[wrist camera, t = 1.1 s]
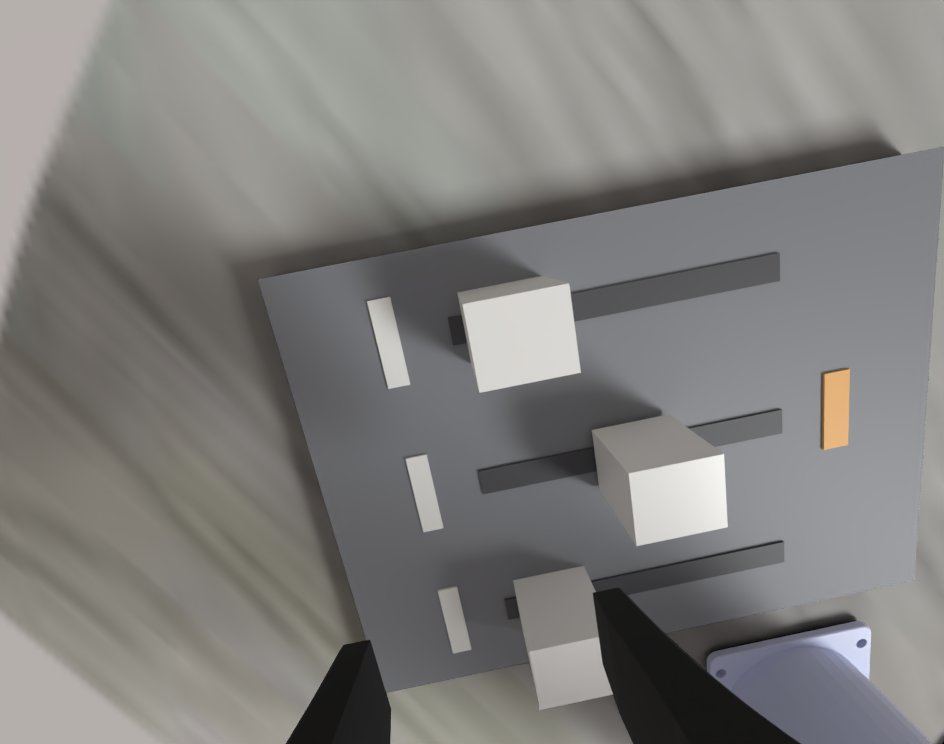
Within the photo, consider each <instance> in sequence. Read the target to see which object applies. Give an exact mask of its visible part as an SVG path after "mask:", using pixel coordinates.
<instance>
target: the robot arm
mask: <svg viewBox="0 0 944 744" xmlns="http://www.w3.org/2000/svg"><path fill="white" fill-rule="evenodd" d="M593 600H594V607H595V614H596V621H597V628H598V635H599V642H600V649H601V656H602V663H603V666H604V669H605V672H606V675H607V678H608V681H609V684H610V687H611V690H612V693H613V696H614V699H615V701H616V704H617V707H618V710H619V713H620V715H621V717H622V720H623V722H624V724H625V726H626V729H627V731H628V733H629V735H630V737H631V740H632V742H633V744H932V743H931V742H930V741H929V740H928V739H927V738H926V737H925V736H924V735H923V734H922V733H921V732H920V731H919V730H918V729H917V728H916V727H915V726H914V725H913V724H912V723H911V722H910V721H909V720H908V719H907V718H906V717H905V716H904V715H903V713H902V712H901V711H900V710H899V709H898V708H897V707H896V706H895V705H894V704H893V703H892V702H891V701H890V700H889V699H888V698H887V697H886V696H885V695H884V694H883V693H882V692H881V691H880V690H879V689H878V688H877V687H876V686H875V685H874V684H873V683H872V682H871V681H870V680H869V668H870V645H871V630H870V628H869V627H868V626H867V625H866V624H864V623H863V622H861V621H854V622H849V623H845V624H840V625H835V626H831V627H826V628H821V629H817V630H812V631H807V632H803V633H798V634H793V635H789V636H784V637H779V638H774V639H770V640H765V641H760V642H756V643H751V644H746V645H742V646H737V647H732V648H728V649H723V650H718V651H714V652H712V653H711V654H709V656H708V657H707V671H706V670H705V669H704V668H703V667H701V666H700V665H699V664H698V663H697V662H696V661H695V660H694V659H692V658H691V657H690V656H689V655H688V654H687V653H686V652H685V651H684V650H683V649H681V648H680V647H679V646H678V645H677V644H676V643H675V642H674V641H673V640H672V639H671V638H669V637H668V636H667V635H666V634H665V633H664V632H663V631H662V630H661V629H660V628H659V627H658V626H657V625H656V624H655V623H654V622H653V621H652V620H651V619H650V618H649V617H648V616H647V615H646V614H645V613H644V612H643V611H642V610H641V609H640V608H639V607H638V606H637V605H636V604H635V602H634V601H633V600H632V599H631V598H630V597H629V596H628V595H627V594H626V593H625V592H624V591H623V590H622V589H620V588H619V587H618V588H613V589H609V590H604V591H599V592H594V593H593ZM390 730H391V707H390V704H389V701H388V697H387V694H386V691H385V687H384V684H383V681H382V677H381V674H380V671H379V667H378V664H377V661H376V657H375V654H374V650H373V647H372V644H371V640H365V641H361V642H356V643H351V644H346V645H343V647H342V648H341V650H340V651H339V653H338V655H337V657H336V658H335V660H334V662H333V664H332V665H331V667H330V669H329V671H328V673H327V674H326V676H325V678H324V680H323V682H322V683H321V685H320V687H319V689H318V690H317V692H316V694H315V696H314V697H313V699H312V701H311V703H310V704H309V706H308V708H307V709H306V711H305V713H304V714H303V716H302V718H301V719H300V721H299V723H298V724H297V726H296V728H295V729H294V731H293V733H292V734H291V736H290V738H289V739H288V741H287V743H286V744H390Z"/></svg>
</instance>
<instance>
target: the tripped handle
mask: <svg viewBox="0 0 944 744" xmlns="http://www.w3.org/2000/svg"><path fill="white" fill-rule="evenodd" d="M592 436H593V444H594V452H595V459H596V467H597V475H598V483H599V490H600V492H601V494H602V495H603V497H604V498H605V500H606V501H607V503H608V504H609V506H610V507H611V509H612V510H613V512H614V513H615V515H616V516H617V518H618V519H619V521H620V522H621V524H622V525H623V527H624V528H625V530H626V531H627V533H628V534H629V536H630V537H631V539H632V540H633V542H634V543H635V545H636V546H640V545H645V544H650V543H655V542H659V541H664V540H669V539H674V538H679V537H683V536H688V535H693V534H698V533H703V532H708V531H712V530H717V529H722V528H727V527H728V522H727V502H726V482H725V463H724V454H723V453H722V452H721V451H719V450H718V449H716V448H715V447H714V446H712V445H711V444H709V443H708V442H707V441H705V440H704V439H702V438H701V437H700V436H698V435H697V434H696V433H694V432H693V431H691V430H690V429H689V428H687V427H686V426H684V425H683V424H682V423H680V422H679V421H677V420H676V419H675V418H673V417H672V416H670V415H669V414H668V415H663V416H658V417H653V418H648V419H643V420H639V421H634V422H629V423H624V424H619V425H614V426H609V427H604V428H599V429H594V430H592Z"/></svg>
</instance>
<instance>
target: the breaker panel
mask: <svg viewBox="0 0 944 744" xmlns="http://www.w3.org/2000/svg"><path fill="white" fill-rule="evenodd" d="M943 162H944V147H939V148H934V149H929V150H924V151H919V152H914V153H908V154H903V155H898V156H893V157H888V158H883V159H877V160H872V161H867V162H862V163H857V164H852V165H846V166H841V167H836V168H831V169H826V170H821V171H815V172H810V173H805V174H800V175H795V176H790V177H784V178H779V179H774V180H769V181H764V182H759V183H753V184H748V185H743V186H738V187H733V188H728V189H722V190H717V191H712V192H707V193H702V194H697V195H691V196H686V197H681V198H676V199H671V200H665V201H660V202H655V203H650V204H645V205H640V206H634V207H629V208H624V209H619V210H614V211H609V212H603V213H598V214H593V215H588V216H583V217H578V218H572V219H567V220H562V221H557V222H552V223H547V224H541V225H536V226H531V227H526V228H521V229H516V230H510V231H505V232H500V233H495V234H490V235H485V236H479V237H474V238H469V239H464V240H459V241H454V242H448V243H443V244H438V245H433V246H428V247H423V248H417V249H412V250H407V251H402V252H397V253H392V254H386V255H381V256H376V257H371V258H366V259H361V260H355V261H350V262H345V263H340V264H335V265H330V266H324V267H319V268H314V269H309V270H304V271H299V272H293V273H288V274H283V275H278V276H273V277H268V278H262V279H258V283H259V286H260V289H261V293H262V296H263V299H264V302H265V306H266V309H267V312H268V316H269V319H270V322H271V326H272V329H273V332H274V336H275V339H276V342H277V346H278V349H279V352H280V356H281V359H282V362H283V366H284V369H285V372H286V376H287V379H288V382H289V385H290V389H291V392H292V395H293V399H294V402H295V405H296V409H297V412H298V415H299V419H300V422H301V425H302V429H303V432H304V435H305V439H306V442H307V445H308V449H309V452H310V455H311V459H312V462H313V465H314V468H315V472H316V475H317V478H318V482H319V485H320V488H321V492H322V495H323V498H324V502H325V505H326V508H327V512H328V515H329V518H330V522H331V525H332V528H333V532H334V535H335V538H336V542H337V545H338V548H339V551H340V555H341V558H342V561H343V565H344V568H345V571H346V575H347V578H348V581H349V585H350V588H351V591H352V595H353V598H354V601H355V605H356V608H357V611H358V615H359V618H360V621H361V625H362V628H363V631H364V634H365V638H366V640H371V644H372V647H373V650H374V654H375V657H376V661H377V664H378V667H379V671H380V674H381V677H382V681H383V684H384V687H385V691H386V693H387V692H392V691H397V690H402V689H406V688H411V687H416V686H420V685H425V684H430V683H435V682H439V681H444V680H449V679H453V678H458V677H463V676H468V675H472V674H477V673H482V672H486V671H491V670H496V669H501V668H505V667H510V666H515V665H519V664H524V663H529V662H530V666H531V671H532V675H533V680H534V684H535V689H536V693H537V698H538V702H539V707H540V710H543V709H548V708H552V707H557V706H562V705H566V704H571V703H576V702H580V701H585V700H590V699H594V698H599V697H604V696H608V695H613V693H612V690H611V687H610V684H609V681H608V678H607V675H606V672H605V669H604V666H603V663H602V656H601V649H600V642H599V635H598V628H597V621H596V614H595V607H594V600H593V593H594V592H599V591H604V590H609V589H613V588H618V587H619V588H620V589H622V590H623V591H624V592H625V593H626V594H627V595H628V596H629V597H630V598H631V599H632V600H633V601H634V602H635V604H636V605H637V606H638V607H639V608H640V609H641V610H642V611H643V612H644V613H645V614H646V615H647V616H648V617H649V618H650V619H651V620H652V621H653V622H654V623H655V624H656V625H657V626H658V627H659V628H660V629H661V630H662V631H663V632H664V633H665V634H666V633H670V632H675V631H680V630H684V629H689V628H694V627H699V626H703V625H708V624H713V623H717V622H722V621H727V620H732V619H736V618H741V617H746V616H750V615H755V614H760V613H765V612H769V611H774V610H779V609H784V608H788V607H793V606H798V605H802V604H807V603H812V602H817V601H821V600H826V599H831V598H835V597H840V596H845V595H850V594H854V593H859V592H864V591H868V590H873V589H878V588H883V587H887V586H892V585H897V584H901V583H906V582H911V581H914V578H915V564H916V549H917V535H918V521H919V506H920V492H921V478H922V463H923V449H924V435H925V420H926V406H927V392H928V377H929V363H930V349H931V334H932V320H933V306H934V291H935V277H936V263H937V248H938V234H939V220H940V205H941V191H942V177H943ZM668 414H669V415H670V416H672V417H673V418H675V419H676V420H677V421H679V422H680V423H682V424H683V425H684V426H686V427H687V428H689V429H690V430H691V431H693V432H694V433H696V434H697V435H698V436H700V437H701V438H702V439H704V440H705V441H707V442H708V443H709V444H711V445H712V446H714V447H715V448H716V449H718V450H719V451H721V452H722V453H723V454H724V463H725V482H726V502H727V522H728V527H727V528H722V529H717V530H712V531H708V532H703V533H698V534H693V535H688V536H683V537H679V538H674V539H669V540H664V541H659V542H655V543H650V544H645V545H640V546H636V545H635V543H634V542H633V540H632V539H631V537H630V536H629V534H628V533H627V531H626V530H625V528H624V527H623V525H622V524H621V522H620V521H619V519H618V518H617V516H616V515H615V513H614V512H613V510H612V509H611V507H610V506H609V504H608V503H607V501H606V500H605V498H604V497H603V495H602V494H601V492H600V490H599V483H598V475H597V467H596V459H595V452H594V444H593V436H592V430H594V429H599V428H604V427H609V426H614V425H619V424H624V423H629V422H634V421H639V420H643V419H648V418H653V417H658V416H663V415H668Z"/></svg>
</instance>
